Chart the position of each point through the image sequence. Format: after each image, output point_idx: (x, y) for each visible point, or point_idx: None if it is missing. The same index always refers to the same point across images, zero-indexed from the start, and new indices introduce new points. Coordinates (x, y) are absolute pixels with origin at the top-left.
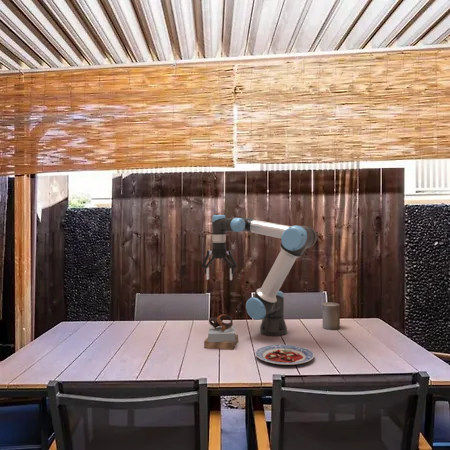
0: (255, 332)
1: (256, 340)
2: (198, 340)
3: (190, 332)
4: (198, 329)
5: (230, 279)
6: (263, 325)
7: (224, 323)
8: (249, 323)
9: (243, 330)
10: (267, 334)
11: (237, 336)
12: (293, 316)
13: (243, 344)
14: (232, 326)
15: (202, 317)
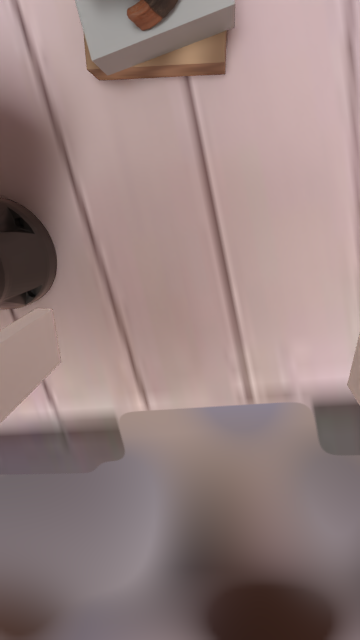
0: (69, 239)
1: (30, 114)
2: (291, 37)
3: (356, 184)
4: (322, 244)
5: (41, 311)
6: (13, 230)
7: (132, 7)
8: (124, 363)
9: (121, 261)
10: (9, 201)
11: (86, 50)
12: (9, 456)
13: (62, 27)
14: (100, 56)
15: (332, 432)
